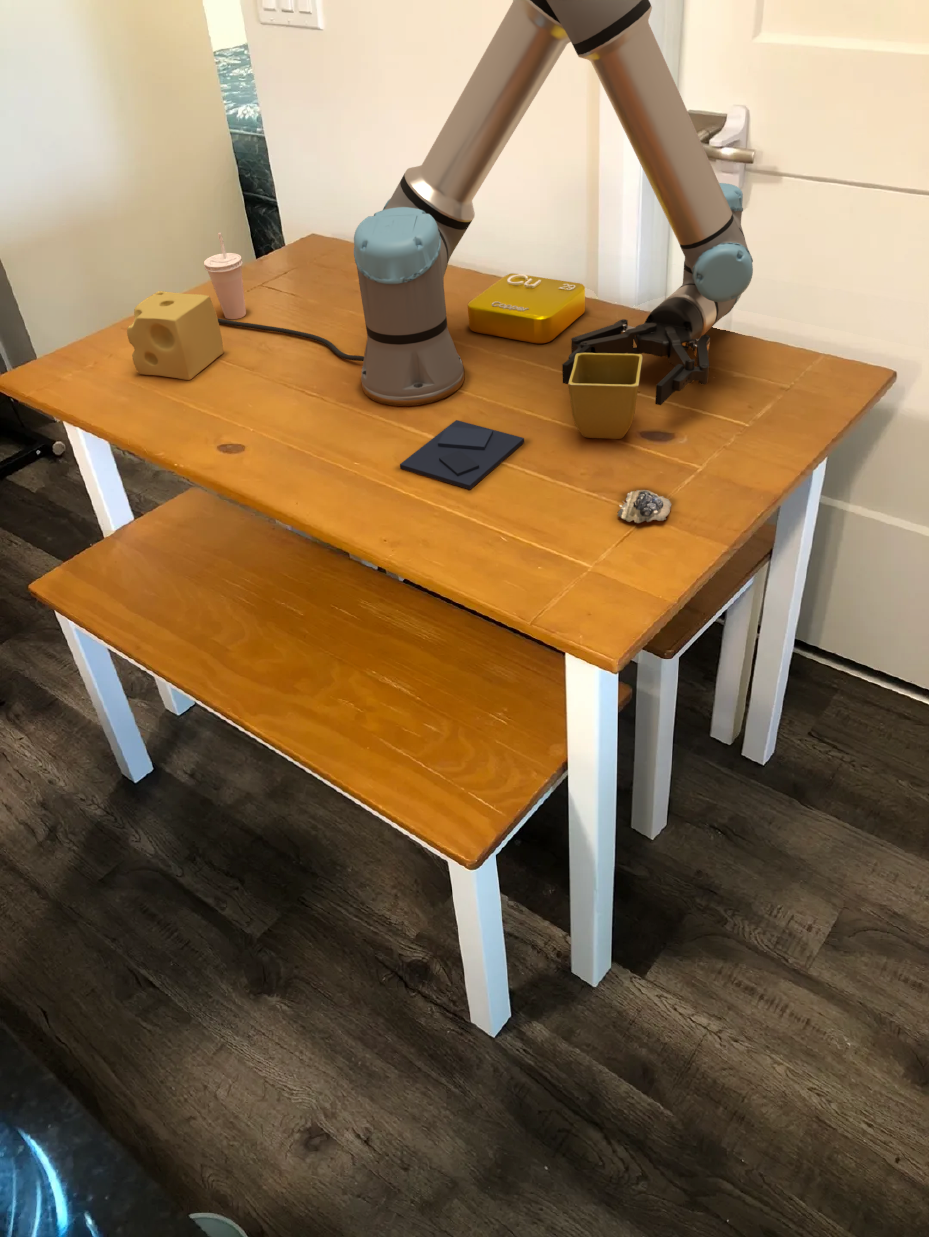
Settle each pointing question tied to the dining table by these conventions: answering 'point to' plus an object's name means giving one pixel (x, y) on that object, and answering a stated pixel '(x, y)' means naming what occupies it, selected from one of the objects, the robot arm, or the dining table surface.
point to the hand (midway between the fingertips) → (610, 384)
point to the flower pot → (604, 393)
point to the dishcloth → (462, 454)
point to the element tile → (527, 308)
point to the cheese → (175, 335)
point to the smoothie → (227, 281)
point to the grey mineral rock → (644, 507)
